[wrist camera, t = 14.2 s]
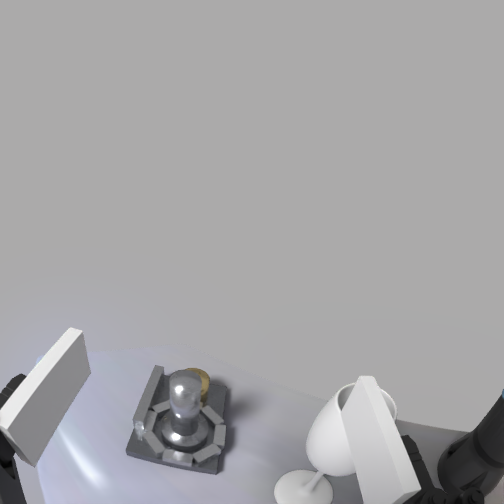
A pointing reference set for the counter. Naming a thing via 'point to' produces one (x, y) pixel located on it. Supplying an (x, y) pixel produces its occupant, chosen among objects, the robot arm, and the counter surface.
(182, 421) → the flanged metal post
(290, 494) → the wineglass
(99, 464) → the counter surface
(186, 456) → the carrier plate
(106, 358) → the counter surface
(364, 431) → the robot arm
